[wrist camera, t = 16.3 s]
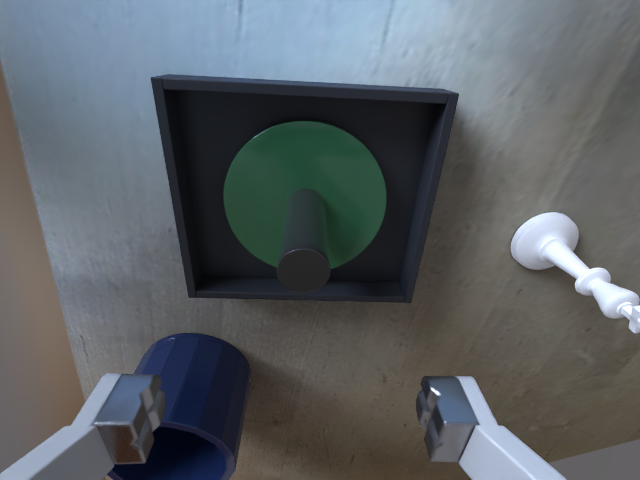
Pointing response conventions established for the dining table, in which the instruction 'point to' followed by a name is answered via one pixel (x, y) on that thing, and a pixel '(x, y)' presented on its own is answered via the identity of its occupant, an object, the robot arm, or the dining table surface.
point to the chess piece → (572, 264)
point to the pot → (194, 410)
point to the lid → (304, 200)
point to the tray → (288, 105)
